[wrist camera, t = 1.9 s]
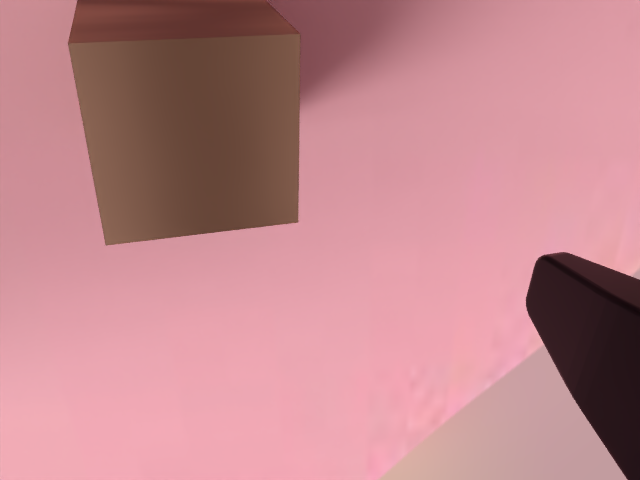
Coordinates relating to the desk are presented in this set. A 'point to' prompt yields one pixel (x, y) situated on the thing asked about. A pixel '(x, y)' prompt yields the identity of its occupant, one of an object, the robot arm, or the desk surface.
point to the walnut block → (188, 114)
